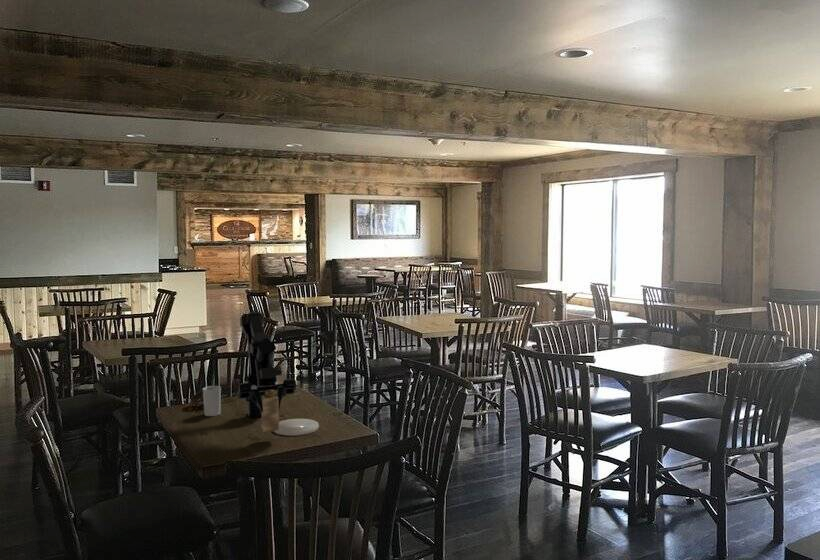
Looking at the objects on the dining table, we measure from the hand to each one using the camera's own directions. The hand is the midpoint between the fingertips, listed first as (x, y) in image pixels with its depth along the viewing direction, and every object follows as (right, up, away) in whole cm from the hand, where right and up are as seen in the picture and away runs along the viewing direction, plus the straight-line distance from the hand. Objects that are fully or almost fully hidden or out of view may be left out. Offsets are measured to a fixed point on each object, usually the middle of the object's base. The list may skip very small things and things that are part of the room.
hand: (270, 410), depth 211 cm
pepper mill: (-1, -6, +2) cm, 7 cm away
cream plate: (+6, -9, +15) cm, 18 cm away
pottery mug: (-35, -7, +44) cm, 57 cm away
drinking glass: (-29, -8, +33) cm, 45 cm away
